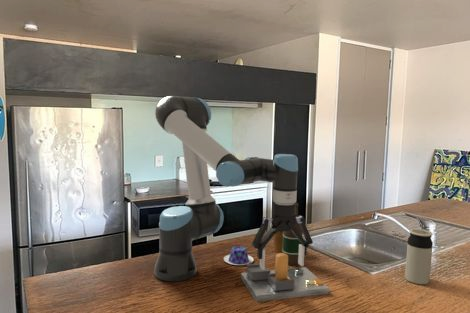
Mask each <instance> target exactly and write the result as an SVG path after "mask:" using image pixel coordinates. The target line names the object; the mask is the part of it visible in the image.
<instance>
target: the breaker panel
mask: <svg viewBox="0 0 470 313" xmlns="http://www.w3.org/2000/svg"><path fill="white" fill-rule="evenodd" d="M269 270H270V269H269ZM270 273H275V269H273V270H270ZM287 275H288V276H289V277H290V278H291V279H294V289H287V290H277V291H275V290H274V289H273V287H272V286H271V285H270V284H269V282H268V279H263V280H253V281H252V280H251V278H250V277H249V275H248V274H247V272H241V273H240V279H241V281H242V282H243V284H244V285H245V287H246V289H247V290H248V292H249V293H250V294H251V296H252V298H253V299H254V301H255V302H256V303H259V302H265V301H267V302H268V301H276V300H284V299H293V298H294V299H295V298H302V297H311V296H320V295H328V294H329V293H330V292H329V290H330V287H328V286H327V285H326V284H325V283H324V282H323V281H322V280H321V279H320V278H318V276H316V275H315V274H314V273H313V272H312V271H311V270H309V269H308V268H307V267H306V266H302V267H293V268H288V272H287Z"/></svg>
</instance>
